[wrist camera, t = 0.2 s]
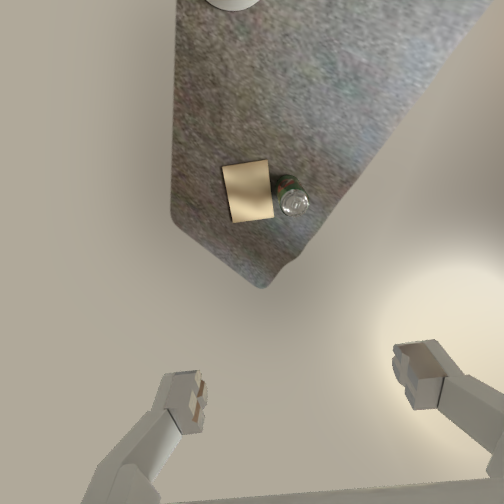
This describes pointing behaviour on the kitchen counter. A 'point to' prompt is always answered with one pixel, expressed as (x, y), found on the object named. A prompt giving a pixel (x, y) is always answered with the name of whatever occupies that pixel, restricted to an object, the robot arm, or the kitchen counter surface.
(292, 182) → the soda can
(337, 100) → the kitchen counter surface
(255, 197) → the cork mat
